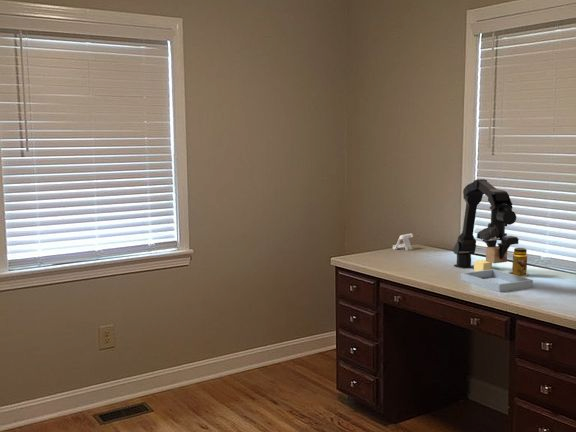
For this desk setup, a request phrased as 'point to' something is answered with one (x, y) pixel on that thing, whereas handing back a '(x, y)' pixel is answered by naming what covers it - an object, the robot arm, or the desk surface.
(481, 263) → the mustard box
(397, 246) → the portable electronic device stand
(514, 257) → the condiment
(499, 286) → the gray tray
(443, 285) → the desk surface
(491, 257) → the walnut block
